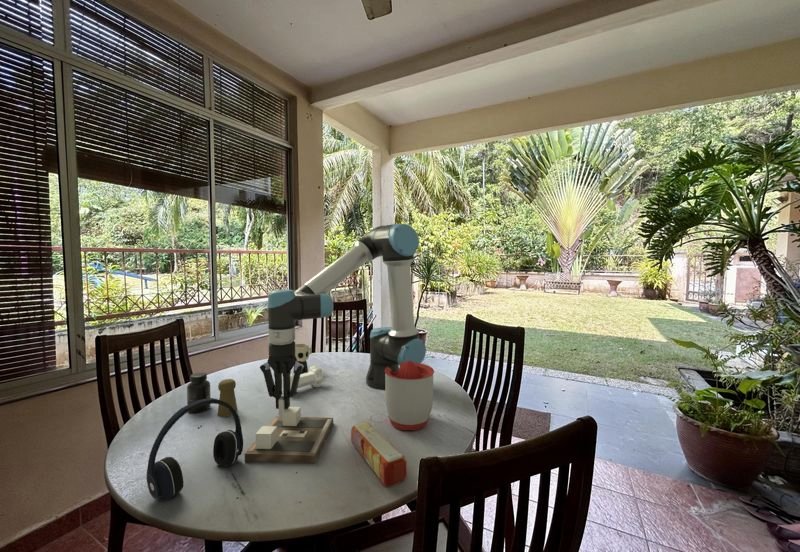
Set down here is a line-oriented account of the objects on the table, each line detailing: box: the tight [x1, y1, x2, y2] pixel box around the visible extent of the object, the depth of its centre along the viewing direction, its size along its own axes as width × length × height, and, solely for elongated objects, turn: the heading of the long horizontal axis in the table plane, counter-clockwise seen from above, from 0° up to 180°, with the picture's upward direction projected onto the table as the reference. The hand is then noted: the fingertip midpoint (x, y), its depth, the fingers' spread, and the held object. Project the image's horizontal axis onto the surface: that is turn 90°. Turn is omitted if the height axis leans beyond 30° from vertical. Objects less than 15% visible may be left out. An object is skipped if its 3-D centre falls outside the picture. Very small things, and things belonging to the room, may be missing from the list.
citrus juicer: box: [384, 360, 435, 431], centre depth 106 cm, size 16×17×20 cm
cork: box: [217, 378, 238, 418], centre depth 111 cm, size 6×6×11 cm
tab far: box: [283, 406, 302, 426], centre depth 101 cm, size 4×4×4 cm
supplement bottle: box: [186, 372, 212, 414], centre depth 114 cm, size 7×7×12 cm
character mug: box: [292, 342, 313, 375], centre depth 149 cm, size 11×7×13 cm, turn 136°
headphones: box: [146, 397, 244, 500], centre depth 78 cm, size 20×7×18 cm, turn 148°
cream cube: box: [255, 425, 277, 449], centre depth 89 cm, size 4×4×4 cm
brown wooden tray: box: [244, 416, 334, 464], centre depth 95 cm, size 18×20×2 cm
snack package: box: [350, 421, 408, 488], centre depth 85 cm, size 21×7×7 cm, turn 30°
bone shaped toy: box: [282, 365, 325, 392], centre depth 131 cm, size 15×9×8 cm, turn 136°
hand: (283, 418), depth 101 cm, fingers closed
